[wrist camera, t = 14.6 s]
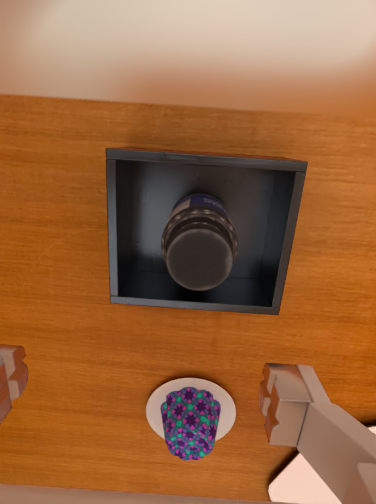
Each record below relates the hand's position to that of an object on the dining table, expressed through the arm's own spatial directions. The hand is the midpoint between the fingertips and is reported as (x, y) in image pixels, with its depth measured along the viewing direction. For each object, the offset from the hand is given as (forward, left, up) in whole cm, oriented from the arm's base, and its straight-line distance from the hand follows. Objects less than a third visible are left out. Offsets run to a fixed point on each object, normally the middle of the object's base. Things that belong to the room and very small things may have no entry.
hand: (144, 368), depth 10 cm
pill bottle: (+1, +2, -22) cm, 22 cm away
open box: (+1, +2, -23) cm, 23 cm away
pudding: (+26, -6, -23) cm, 35 cm away
